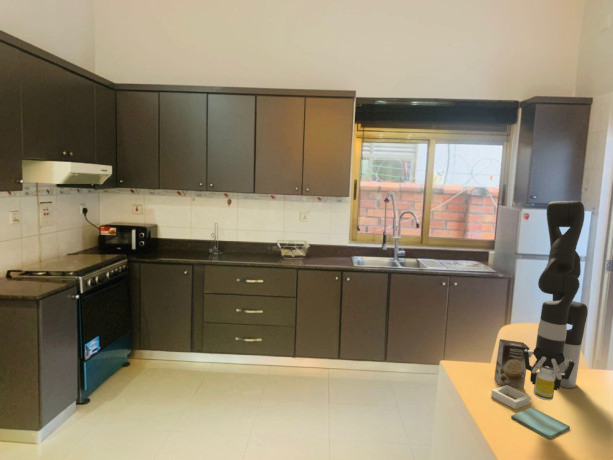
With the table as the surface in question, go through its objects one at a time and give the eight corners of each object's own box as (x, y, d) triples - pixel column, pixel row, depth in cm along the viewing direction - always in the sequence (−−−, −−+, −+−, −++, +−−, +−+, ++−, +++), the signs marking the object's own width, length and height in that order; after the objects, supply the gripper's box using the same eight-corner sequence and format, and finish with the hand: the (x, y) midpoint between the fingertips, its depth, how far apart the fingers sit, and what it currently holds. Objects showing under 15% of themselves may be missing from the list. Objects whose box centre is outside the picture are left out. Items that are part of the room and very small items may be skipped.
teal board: (531, 409, 134) (531, 407, 134) (569, 428, 124) (569, 426, 124) (511, 417, 128) (511, 415, 128) (549, 438, 118) (549, 436, 118)
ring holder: (505, 391, 146) (506, 384, 145) (530, 403, 138) (530, 396, 138) (491, 396, 141) (491, 389, 141) (515, 409, 133) (516, 402, 133)
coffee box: (498, 385, 150) (503, 344, 148) (493, 377, 156) (498, 338, 155) (524, 388, 149) (529, 348, 147) (518, 380, 155) (523, 341, 153)
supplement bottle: (555, 402, 122) (559, 372, 121) (536, 399, 123) (540, 369, 122) (548, 393, 127) (552, 364, 126) (530, 391, 128) (534, 362, 127)
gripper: (525, 333, 123) (518, 384, 125) (580, 344, 116) (572, 398, 118) (525, 326, 130) (519, 375, 131) (577, 337, 123) (570, 388, 124)
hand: (544, 386), depth 125 cm, fingers closed on supplement bottle, 5 cm apart
